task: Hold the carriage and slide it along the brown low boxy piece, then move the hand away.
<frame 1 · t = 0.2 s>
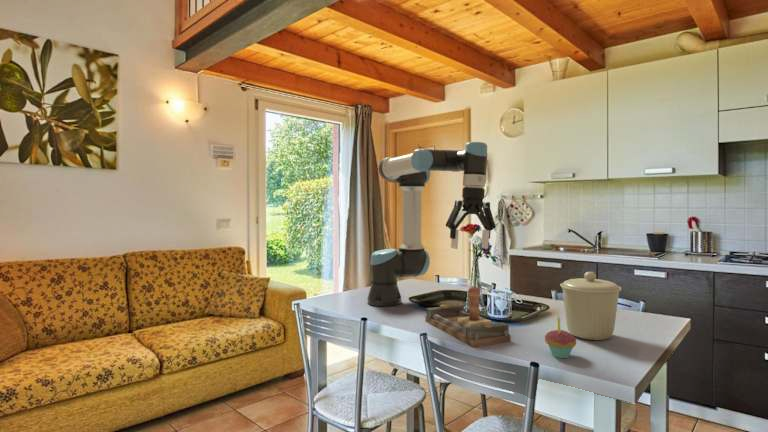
hand: (469, 248, 152), 28 cm above the table, tool pointing down, fingers open, 13 cm apart
carriage: (473, 307, 145), point 9 cm above the table, slide at 0.0 cm
brown low boxy piece: (464, 330, 151), on the table
cupcake: (560, 355, 126), on the table
canister: (589, 336, 143), on the table
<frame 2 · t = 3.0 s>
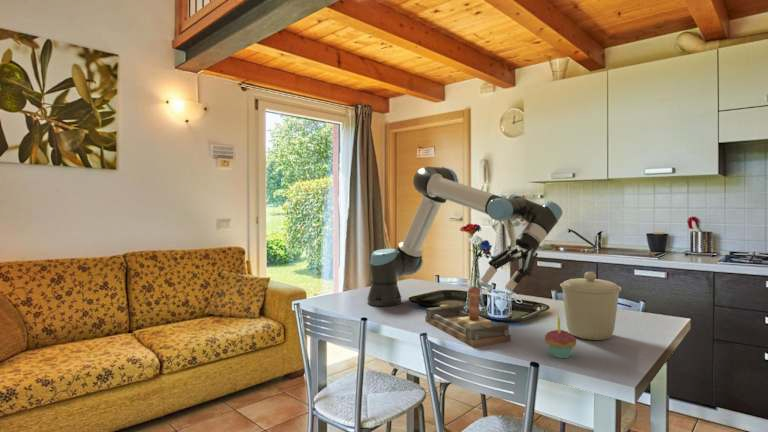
hand: (495, 285, 147), 16 cm above the table, tool tilted 45°, fingers open, 13 cm apart
nothing on the table moved.
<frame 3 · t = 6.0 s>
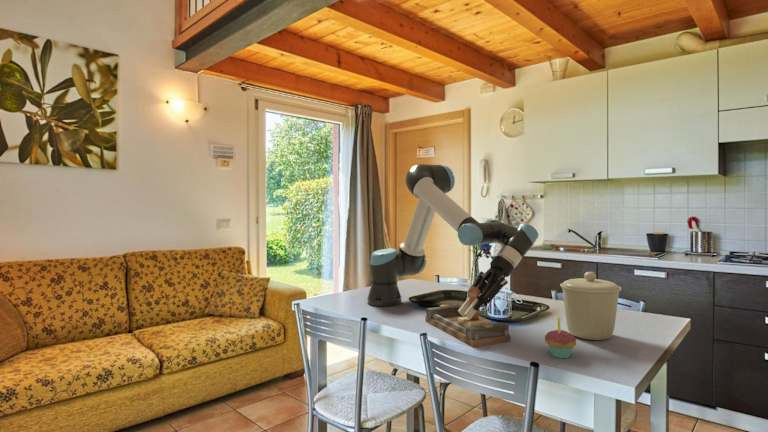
hand: (464, 315, 144), 7 cm above the table, tool tilted 45°, fingers closed on carriage, 3 cm apart
carriage: (473, 307, 145), point 9 cm above the table, slide at 0.0 cm, touching gripper
everything else where it was.
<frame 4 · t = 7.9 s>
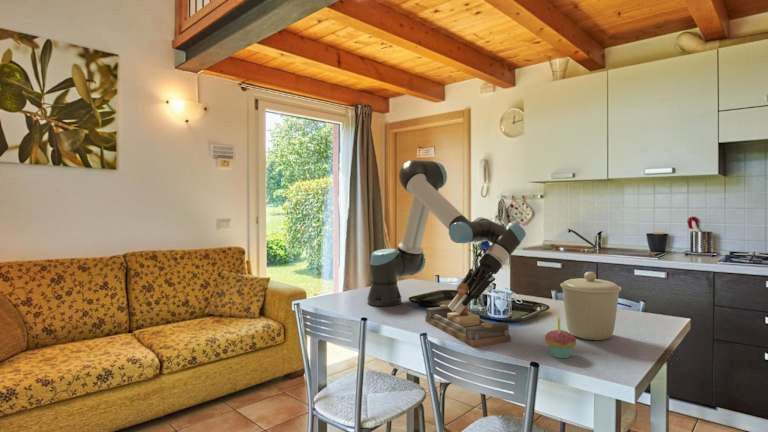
hand: (453, 310, 150), 7 cm above the table, tool tilted 45°, fingers closed on carriage, 3 cm apart
carriage: (463, 303, 152), point 9 cm above the table, slide at 6.8 cm, touching gripper
everything else where it was.
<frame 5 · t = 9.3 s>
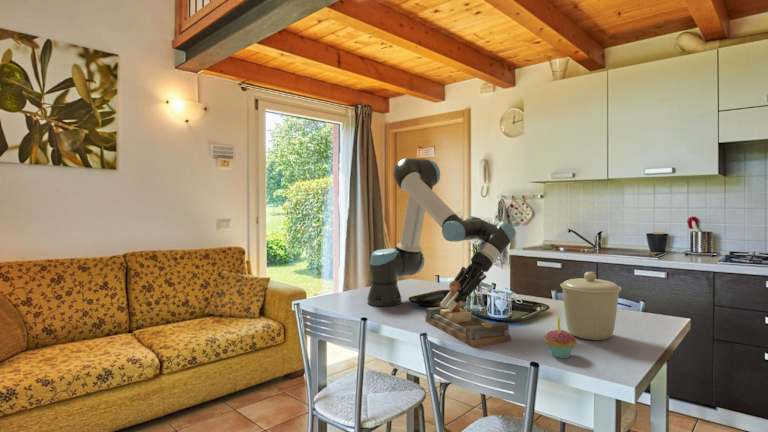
hand: (445, 307, 155), 7 cm above the table, tool tilted 45°, fingers closed on carriage, 3 cm apart
carriage: (455, 300, 157), point 9 cm above the table, slide at 12.0 cm, touching gripper
everything else where it was.
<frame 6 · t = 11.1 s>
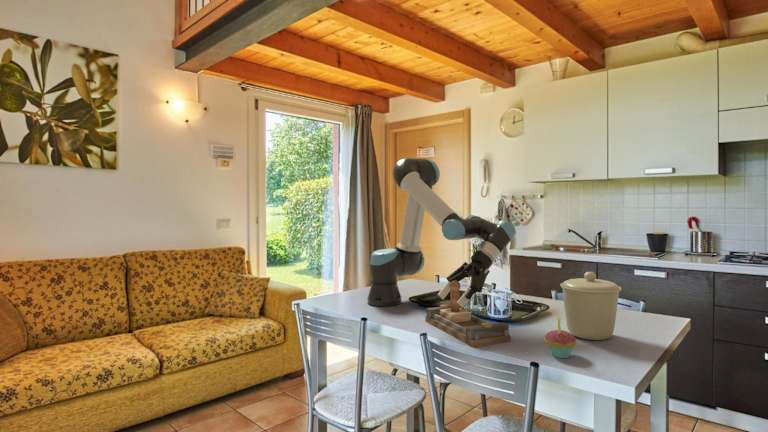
hand: (449, 301, 156), 9 cm above the table, tool tilted 45°, fingers open, 13 cm apart
carriage: (455, 299, 157), point 9 cm above the table, slide at 12.2 cm
everything else where it was.
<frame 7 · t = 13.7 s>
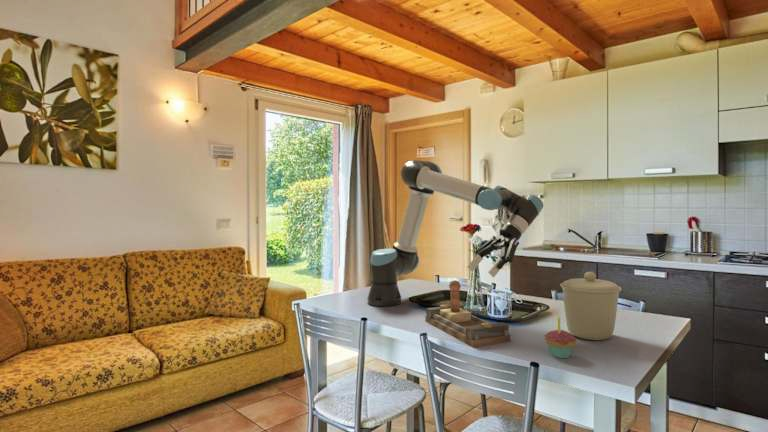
hand: (479, 272, 160), 19 cm above the table, tool tilted 45°, fingers open, 13 cm apart
nothing on the table moved.
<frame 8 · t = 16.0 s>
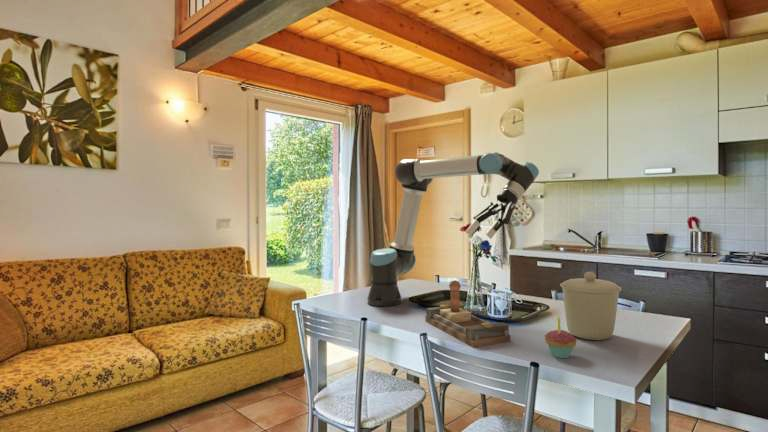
hand: (477, 235, 166), 32 cm above the table, tool tilted 45°, fingers open, 13 cm apart
nothing on the table moved.
at the end: carriage slide at 12.2 cm; the gripper is holding nothing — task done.
